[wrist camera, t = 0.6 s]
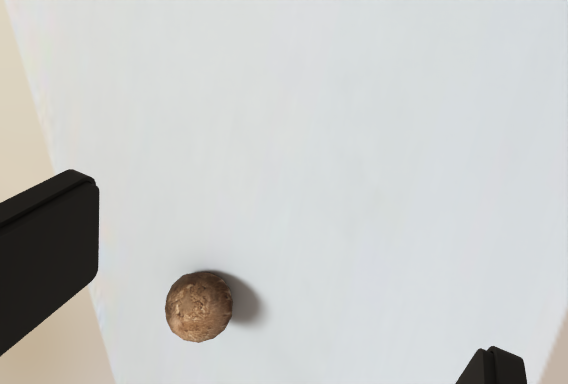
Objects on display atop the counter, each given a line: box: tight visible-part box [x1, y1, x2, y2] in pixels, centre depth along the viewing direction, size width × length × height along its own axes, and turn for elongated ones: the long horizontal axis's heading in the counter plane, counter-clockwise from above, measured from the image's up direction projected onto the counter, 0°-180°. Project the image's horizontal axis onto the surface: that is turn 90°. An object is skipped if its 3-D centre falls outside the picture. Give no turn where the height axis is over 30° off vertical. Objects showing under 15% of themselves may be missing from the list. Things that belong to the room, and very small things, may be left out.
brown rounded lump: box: [165, 272, 233, 343], centre depth 50 cm, size 8×8×6 cm
